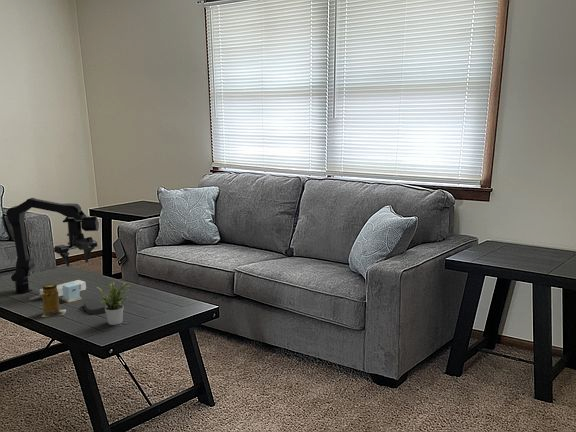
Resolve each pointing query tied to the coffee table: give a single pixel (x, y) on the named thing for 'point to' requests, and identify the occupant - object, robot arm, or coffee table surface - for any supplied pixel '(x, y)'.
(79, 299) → the board
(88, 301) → the media streaming box
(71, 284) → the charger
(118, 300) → the house plant
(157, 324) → the coffee table surface
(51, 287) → the condiment
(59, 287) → the power strip
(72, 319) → the coffee table surface
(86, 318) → the coffee table surface
